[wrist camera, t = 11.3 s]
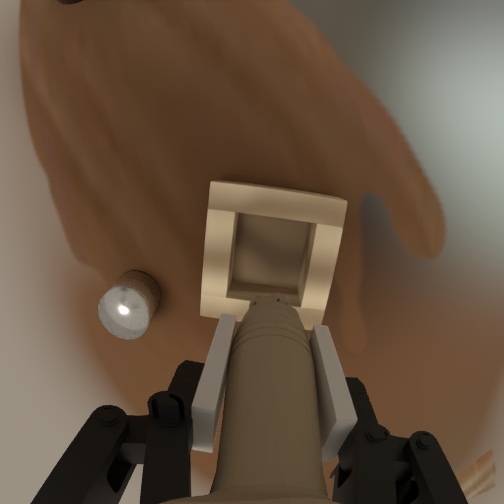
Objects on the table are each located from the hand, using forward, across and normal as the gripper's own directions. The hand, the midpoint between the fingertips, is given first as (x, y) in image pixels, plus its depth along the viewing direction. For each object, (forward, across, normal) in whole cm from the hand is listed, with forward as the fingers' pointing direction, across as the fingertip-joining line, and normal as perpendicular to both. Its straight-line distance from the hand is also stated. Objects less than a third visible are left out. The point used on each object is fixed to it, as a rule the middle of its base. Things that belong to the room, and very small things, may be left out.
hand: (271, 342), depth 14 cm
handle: (+4, 0, 0) cm, 4 cm away
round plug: (+18, -16, -8) cm, 25 cm away
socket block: (+18, 0, 0) cm, 18 cm away
